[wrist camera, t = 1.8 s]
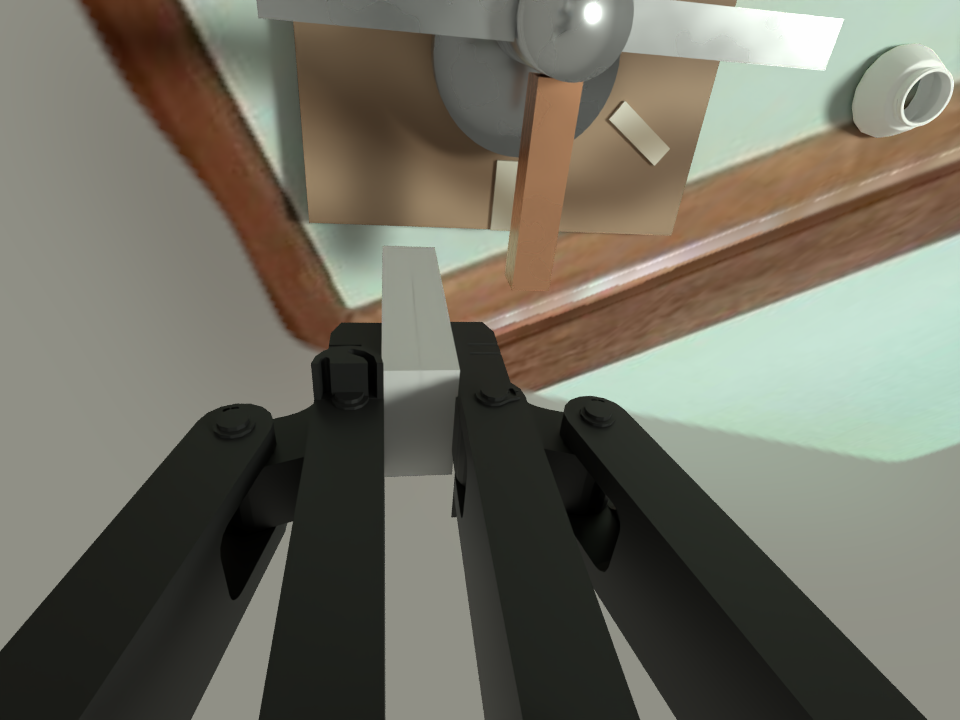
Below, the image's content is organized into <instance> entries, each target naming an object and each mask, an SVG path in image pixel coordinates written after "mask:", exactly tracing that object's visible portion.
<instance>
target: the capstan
mask: <svg viewBox="0 0 960 720" xmlns="http://www.w3.org/2000/svg"><path fill="white" fill-rule="evenodd" d="M257 9H258V18H263V19H273V20H284V21H295V22H306V23H317V24H327V25H338V26H349V27H360V28H371V29H381V30H392V31H403V32H414V33H425V34H432V43H431V62H432V69H433V75H434V79H435V83H436V87H437V89H438V92H439V95H440V97H441V99H442V101H443V103H444V105H445V107H446V109H447V110H448V112H449V114H450V116H451V117H452V119H453V120H454V121H455V123H456V124H457V126H458V127H459V128H460V129H461V130H462V131H463V132H464V133H465V134H466V135H467V136H468V137H469V138H470V139H472V140H473V141H474V142H475V143H477V144H478V145H480V146H482V147H483V148H485V149H487V150H490V151H492V152H494V153H497V154H501V155H504V156H510V157H519V159H518V167H517V176H516V184H515V193H514V201H513V210H512V218H511V226H510V235H509V243H508V252H507V260H506V269H505V276H506V278H507V281H508V283H509V285H510V288H511V290H525V291H549V286H550V280H551V274H552V268H553V262H554V256H555V250H556V243H557V237H558V231H559V225H560V219H561V213H562V207H563V201H564V195H565V189H566V183H567V177H568V171H569V165H570V159H571V153H572V147H573V141H574V139H576V138H577V137H578V136H580V135H581V134H582V133H583V132H584V131H585V130H586V129H587V128H588V127H589V126H590V125H591V124H592V122H593V121H594V120H595V119H596V117H597V116H598V115H599V113H600V112H601V110H602V108H603V107H604V105H605V103H606V101H607V99H608V97H609V95H610V93H611V91H612V88H613V85H614V83H615V80H616V76H617V72H618V68H619V61H620V54H621V52H630V53H641V54H652V55H663V56H673V57H684V58H695V59H706V60H717V61H728V62H738V63H749V64H760V65H771V66H782V67H792V68H803V69H814V70H825V69H826V66H827V63H828V61H829V58H830V55H831V53H832V50H833V47H834V44H835V42H836V39H837V36H838V34H839V31H840V28H841V26H842V23H843V20H844V19H839V18H830V17H821V16H812V15H803V14H794V13H785V12H776V11H766V10H757V9H748V8H739V7H730V6H721V5H712V4H703V3H694V2H685V1H676V0H257Z"/></svg>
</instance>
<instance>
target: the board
mask: <svg viewBox="0 0 960 720" xmlns="http://www.w3.org/2000/svg"><path fill="white" fill-rule="evenodd" d="M676 1H685V2H694V3H703V4H712V5H721V6H730V7H735V5H736V1H737V0H676ZM293 25H294V37H295V50H296V63H297V75H298V88H299V100H300V113H301V125H302V138H303V151H304V163H305V176H306V188H307V201H308V214H309V223H334V224H362V225H390V226H418V227H446V228H474V229H490V230H498V231H510V226H511V218H512V210H513V201H514V193H515V184H516V176H517V167H518V159H519V157H510V156H504V155H501V154H497V153H494V152H492V151H490V150H487V149H485V148H483V147H482V146H480V145H478V144H477V143H475V142H474V141H473V140H472V139H470V138H469V137H468V136H467V135H466V134H465V133H464V132H463V131H462V130H461V129H460V128H459V127H458V126H457V124H456V123H455V121H454V120H453V119H452V117H451V116H450V114H449V112H448V110H447V109H446V107H445V105H444V103H443V101H442V99H441V97H440V95H439V92H438V89H437V87H436V83H435V79H434V75H433V69H432V62H431V43H432V34H425V33H414V32H403V31H392V30H381V29H371V28H360V27H349V26H338V25H327V24H317V23H306V22H295V21H293ZM719 62H720V61H717V60H706V59H695V58H684V57H673V56H663V55H652V54H641V53H630V52H621V54H620V61H619V68H618V72H617V76H616V80H615V83H614V85H613V88H612V91H611V93H610V95H609V97H608V99H607V101H606V103H605V105H604V107H603V108H602V110H601V112H600V113H599V115H598V116H597V117H596V119H595V120H594V121H593V122H592V124H591V125H590V126H589V127H588V128H587V129H586V130H585V131H584V132H583V133H582V134H581V135H580V136H578V137H577V138H576V139H574V141H573V147H572V153H571V159H570V165H569V171H568V177H567V183H566V189H565V195H564V201H563V207H562V213H561V219H560V225H559V231H558V232H586V233H614V234H642V235H670V236H671V234H672V231H673V227H674V224H675V220H676V217H677V213H678V209H679V206H680V202H681V199H682V195H683V191H684V188H685V184H686V181H687V177H688V173H689V170H690V166H691V163H692V159H693V156H694V152H695V148H696V145H697V141H698V138H699V134H700V130H701V127H702V123H703V120H704V116H705V112H706V109H707V105H708V102H709V98H710V95H711V91H712V87H713V84H714V80H715V77H716V73H717V69H718V66H719Z"/></svg>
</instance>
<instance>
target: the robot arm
mask: <svg viewBox="0 0 960 720" xmlns="http://www.w3.org/2000/svg"><path fill="white" fill-rule="evenodd" d="M311 368H312V380H313V391H314V404H313V405H311V406H310V407H308V408H307V409H305V410H303V411H301V412H298V413H295V414H292V415H289V416H284V417H280V418H275V419H272V416H271V413H270V412H268V411H267V410H266V409H264V408H263V407H261V406H257V405H253V404H233V405H227V406H223V407H220V408H217V409H215V410H213V411H211V412H208V413H207V414H206V415H205V416H203V417H202V418H201V419H200V420H198V421H197V423H196V424H195V425H194V426H193V427H192V428H191V430H190V431H189V432H188V433H187V434H186V436H185V437H184V438H183V439H182V440H181V441H180V443H179V444H178V445H177V446H176V447H175V448H174V449H173V451H172V452H171V453H170V454H169V455H168V456H167V458H166V459H165V460H164V461H163V462H162V463H161V465H160V466H159V467H158V468H157V469H156V470H155V471H154V473H153V474H152V475H151V476H150V477H149V478H148V480H147V481H146V482H145V483H144V484H143V485H142V487H141V488H140V489H139V490H138V491H137V492H136V494H135V495H134V496H133V497H132V498H131V499H130V501H129V502H128V503H127V504H126V505H125V507H124V508H123V509H122V510H121V511H120V512H119V514H118V515H117V516H116V517H115V518H114V519H113V520H112V522H111V523H110V524H109V525H108V526H107V527H106V529H105V530H104V531H103V532H102V533H101V535H100V536H99V537H98V538H97V539H96V540H95V541H94V543H93V544H92V545H91V546H90V547H89V548H88V550H87V551H86V552H85V553H84V554H83V555H82V557H81V558H80V559H79V560H78V561H77V562H76V564H75V565H74V566H73V567H72V569H70V571H69V572H68V573H67V574H66V575H65V576H64V578H63V579H62V580H61V581H60V582H59V583H58V585H57V586H56V587H55V588H54V589H53V590H52V592H51V593H50V594H49V595H48V596H47V598H46V599H45V600H44V601H43V602H42V603H41V604H40V606H39V607H38V608H37V609H36V610H35V611H34V613H33V614H32V615H31V616H30V617H29V619H28V620H27V621H26V622H25V623H24V624H23V626H22V627H21V628H20V629H19V630H18V631H17V632H16V634H15V635H14V636H13V637H12V638H11V640H10V641H9V642H8V643H7V644H6V645H5V646H4V648H3V649H2V650H1V651H0V720H191V718H192V716H193V714H194V712H195V710H196V708H197V706H198V705H199V702H200V700H201V698H202V697H203V694H204V692H205V690H206V689H207V687H208V685H209V683H210V680H211V679H212V677H213V675H214V673H215V671H216V669H217V667H218V665H219V663H220V661H221V658H222V657H223V655H224V653H225V650H226V648H227V647H228V645H229V642H230V641H231V639H232V637H233V635H234V633H235V631H236V629H237V626H238V625H239V623H240V621H241V619H242V617H243V615H244V613H245V611H246V609H247V607H248V605H249V603H250V601H251V599H252V597H253V595H254V593H255V591H256V589H257V587H258V584H259V583H260V581H261V579H262V577H263V574H264V573H265V571H266V569H267V567H268V565H269V563H270V561H271V559H272V557H273V555H274V553H275V551H276V549H277V546H278V545H279V543H280V541H281V539H282V537H283V535H284V533H285V530H286V526H287V523H288V522H291V521H293V525H292V531H291V536H290V542H289V548H288V554H287V560H286V565H285V571H284V577H283V583H282V588H281V594H280V600H279V606H278V611H277V617H276V623H275V629H274V634H273V640H272V646H271V652H270V657H269V663H268V669H267V675H266V680H265V686H264V692H263V698H262V704H261V709H260V715H259V720H385V519H384V518H385V511H384V510H385V503H384V502H385V501H384V500H385V499H384V498H385V495H384V494H385V493H384V477H396V476H422V475H448V474H452V465H453V463H454V470H455V479H454V492H453V505H452V516H451V517H457V521H458V528H459V536H460V543H461V550H462V557H463V565H464V571H465V579H466V587H467V594H468V601H469V608H470V615H471V623H472V630H473V637H474V645H475V652H476V659H477V667H478V674H479V681H480V688H481V696H482V703H483V710H484V717H485V720H640V718H639V716H638V713H637V710H636V707H635V705H634V701H633V699H632V696H631V693H630V690H629V687H628V685H627V682H626V679H625V676H624V673H623V671H622V668H621V665H620V662H619V659H618V656H617V653H616V651H615V648H614V645H613V642H612V639H611V637H610V634H609V631H608V628H607V625H606V623H605V620H604V617H603V614H602V611H601V608H600V606H599V603H598V600H597V598H596V595H595V591H596V593H597V594H598V596H599V598H600V599H601V601H602V602H603V604H604V605H605V607H606V609H607V610H608V612H609V613H610V615H611V616H612V618H613V620H614V621H615V623H616V624H617V626H618V627H619V629H620V631H621V632H622V634H623V635H624V637H625V639H626V640H627V641H628V643H629V645H630V646H631V648H632V650H633V651H634V653H635V654H636V656H637V657H638V659H639V660H640V662H641V663H642V665H643V667H644V668H645V670H646V672H647V673H648V675H649V676H650V678H651V679H652V681H653V682H654V684H655V686H656V687H657V689H658V691H659V692H660V694H661V695H662V697H663V698H664V700H665V701H666V703H667V705H668V706H669V708H670V709H671V711H672V713H673V714H674V716H675V717H676V719H677V720H927V719H926V718H925V717H924V716H923V715H922V714H921V713H920V712H919V711H918V710H917V708H916V707H915V706H914V705H912V704H911V702H910V701H909V700H908V699H907V698H906V697H905V696H904V695H903V694H902V693H901V692H900V691H899V690H898V689H897V688H896V687H895V686H894V685H893V684H892V683H891V682H890V681H889V680H888V679H887V678H886V677H885V676H884V675H883V674H882V673H881V672H880V671H879V670H878V669H877V668H876V667H875V666H874V665H873V663H871V661H870V660H868V658H866V656H865V655H864V654H863V653H862V652H861V651H860V650H859V649H858V648H857V647H856V646H855V645H854V644H853V643H852V642H851V641H850V640H849V639H848V638H847V637H846V636H845V635H844V634H843V633H842V632H841V631H840V630H839V629H838V628H837V627H836V626H835V625H834V624H833V623H832V622H831V621H830V620H829V618H828V617H826V615H825V614H824V613H823V612H822V611H821V610H820V609H819V608H818V607H817V606H816V605H815V604H814V603H813V602H812V601H811V600H810V599H809V598H808V597H807V596H806V595H805V594H804V593H803V592H802V591H801V590H800V589H799V588H798V587H797V586H796V585H795V584H794V583H793V582H792V581H791V580H790V579H789V578H788V577H787V575H786V574H785V573H784V572H783V571H782V570H781V569H780V568H779V567H778V566H777V565H776V564H775V563H774V562H773V561H772V560H771V559H770V558H769V557H768V556H767V555H766V554H765V553H764V552H763V551H762V550H761V549H760V548H759V547H758V546H757V545H756V544H755V543H754V542H753V541H752V540H751V539H750V538H749V537H748V536H747V535H746V534H745V533H744V531H743V530H742V529H741V528H740V527H738V525H737V524H736V523H735V522H734V521H733V520H732V519H731V518H730V517H729V516H728V515H727V514H726V513H725V512H724V511H723V510H722V509H721V508H720V507H719V506H718V505H717V504H716V503H715V502H714V501H713V500H712V499H711V498H710V497H709V496H708V495H707V494H706V493H705V492H704V491H703V490H702V489H701V488H700V486H699V485H698V484H697V483H696V482H695V481H694V480H693V479H692V478H691V477H690V476H689V475H688V474H687V473H686V472H685V471H684V470H683V469H682V468H681V467H680V466H679V465H678V464H677V463H676V462H675V461H674V460H673V459H672V458H671V457H670V456H669V455H668V454H667V453H666V452H665V451H664V450H663V449H662V448H661V447H660V446H659V445H658V443H657V442H656V441H655V440H654V439H653V438H652V437H650V435H649V434H648V433H647V432H646V431H645V430H644V429H643V428H642V427H641V426H640V425H639V424H638V423H637V422H636V421H635V420H634V419H633V418H632V417H631V416H630V415H629V414H628V413H627V412H626V411H625V410H624V409H623V408H621V407H620V406H619V405H617V404H616V403H614V402H612V401H609V400H607V399H604V398H600V397H594V396H583V397H578V398H575V399H572V400H570V401H569V402H568V403H567V404H566V405H565V409H564V412H559V411H554V410H549V409H544V408H540V407H537V406H534V405H531V404H529V403H527V400H526V397H525V395H524V394H523V392H522V391H521V389H520V388H518V387H517V386H515V385H514V384H512V383H510V380H509V377H508V374H507V371H506V368H505V365H504V362H503V359H502V356H501V355H500V350H499V347H498V345H497V341H496V338H495V335H494V332H493V331H492V330H491V329H490V328H488V327H487V326H486V325H485V324H484V323H483V322H450V319H449V315H448V310H447V305H446V300H445V295H444V290H443V286H442V281H441V276H440V271H439V266H438V261H437V256H436V252H435V247H405V246H383V253H382V323H341V324H340V325H339V326H338V327H337V328H336V329H335V330H334V331H333V332H332V333H331V336H330V343H329V349H327V350H324V351H323V352H321V353H320V354H318V355H317V356H315V358H314V360H313V361H312V363H311ZM593 588H594V589H593ZM594 590H595V591H594Z"/></svg>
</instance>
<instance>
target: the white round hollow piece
mask: <svg viewBox="0 0 960 720" xmlns="http://www.w3.org/2000/svg"><path fill="white" fill-rule="evenodd" d="M919 79H920V82H919V85H918V89H917V92H916V94H915V96H914V98H913V99H912V101H911V102H910V104H909V105H908V107H907V108H906V109H905V110H904V103H905V99H906V97H907V95H908V93H909V91H910V89H911V88H912V87H913V85H914V84H915V83H916V82H917V81H918V80H919ZM953 88H954V81H953V77H952V74H951V73H950V72H949V71H948V70H947V69H946V67H945V66H944V64H943V62H942V61H941V60H940V58H939V57H938V56H937V55H936V53H935V52H934V51H933V49H931V48H928V47H926V46H924V45H922V44H917V43H913V44H906V45H899V46H897V47H895V48H893V49H891V50H890V51H888V52H886V53H884V54H882V55H881V56H880V57H879V58H878V59H877V60H876V61H875V62H874V63H873V64H872V65H871V66H870V67H869V68H868V69H867V70H866V72H865V74H864V76H863V77H862V79H861V81H860V83H859V84H858V86H857V88H856V91H855V95H854V99H853V103H852V112H853V121H854V123H855V124H856V126H857V127H858V128H859V130H860V131H861V132H862V133H865V134H867V135H870V136H873V137H876V138H879V137H887V136H893V135H896V134H899V133H902V132H905V131H908V130H911V129H913V128H915V127H917V126H922V125H924V124H927V123H929V122H930V121H932V120H933V119H935V118H936V117H937V116H938V115H939V114H940V113H941V112H942V111H943V110H944V108H945V107H946V105H947V104H948V102H949V100H950V98H951V96H952V92H953Z"/></svg>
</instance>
